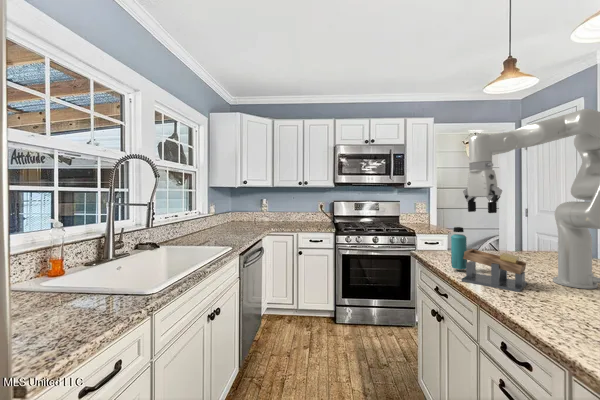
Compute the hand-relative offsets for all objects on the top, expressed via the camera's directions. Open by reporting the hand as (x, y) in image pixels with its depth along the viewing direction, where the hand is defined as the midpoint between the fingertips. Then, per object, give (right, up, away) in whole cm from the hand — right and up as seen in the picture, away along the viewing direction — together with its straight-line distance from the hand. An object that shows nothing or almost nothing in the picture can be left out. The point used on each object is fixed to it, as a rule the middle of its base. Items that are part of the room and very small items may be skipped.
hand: (481, 212), depth 112 cm
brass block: (+10, -19, -1) cm, 22 cm away
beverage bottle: (+3, -28, +22) cm, 35 cm away
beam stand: (+7, -28, +3) cm, 29 cm away
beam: (+6, -21, +3) cm, 22 cm away
